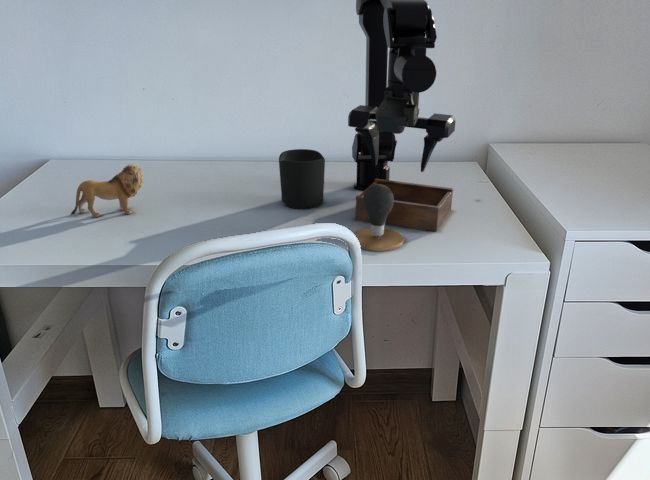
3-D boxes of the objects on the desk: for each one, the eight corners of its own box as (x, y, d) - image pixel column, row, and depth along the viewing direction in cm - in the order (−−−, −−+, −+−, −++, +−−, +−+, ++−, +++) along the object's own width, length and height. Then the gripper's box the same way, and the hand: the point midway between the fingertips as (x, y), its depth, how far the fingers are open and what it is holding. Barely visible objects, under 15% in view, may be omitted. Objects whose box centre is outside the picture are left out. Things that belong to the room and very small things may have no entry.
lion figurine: (144, 203, 145) (138, 160, 140) (149, 212, 140) (143, 167, 136) (69, 213, 139) (60, 168, 134) (72, 222, 135) (63, 176, 130)
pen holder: (333, 200, 149) (333, 153, 144) (310, 213, 142) (309, 164, 137) (295, 192, 153) (294, 146, 147) (271, 205, 145) (269, 157, 140)
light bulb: (396, 234, 131) (399, 182, 126) (384, 245, 127) (387, 191, 122) (369, 229, 133) (371, 178, 128) (356, 239, 129) (358, 186, 124)
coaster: (342, 246, 127) (342, 243, 127) (360, 227, 135) (360, 224, 135) (394, 254, 125) (394, 251, 124) (409, 235, 133) (409, 232, 132)
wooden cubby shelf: (354, 220, 139) (355, 196, 137) (375, 200, 149) (375, 178, 147) (436, 232, 134) (438, 208, 132) (451, 210, 145) (453, 188, 142)
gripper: (337, 83, 118) (336, 173, 127) (444, 94, 113) (436, 188, 121) (359, 72, 127) (357, 157, 136) (460, 82, 122) (451, 170, 130)
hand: (398, 168), depth 130 cm, fingers open, 9 cm apart
